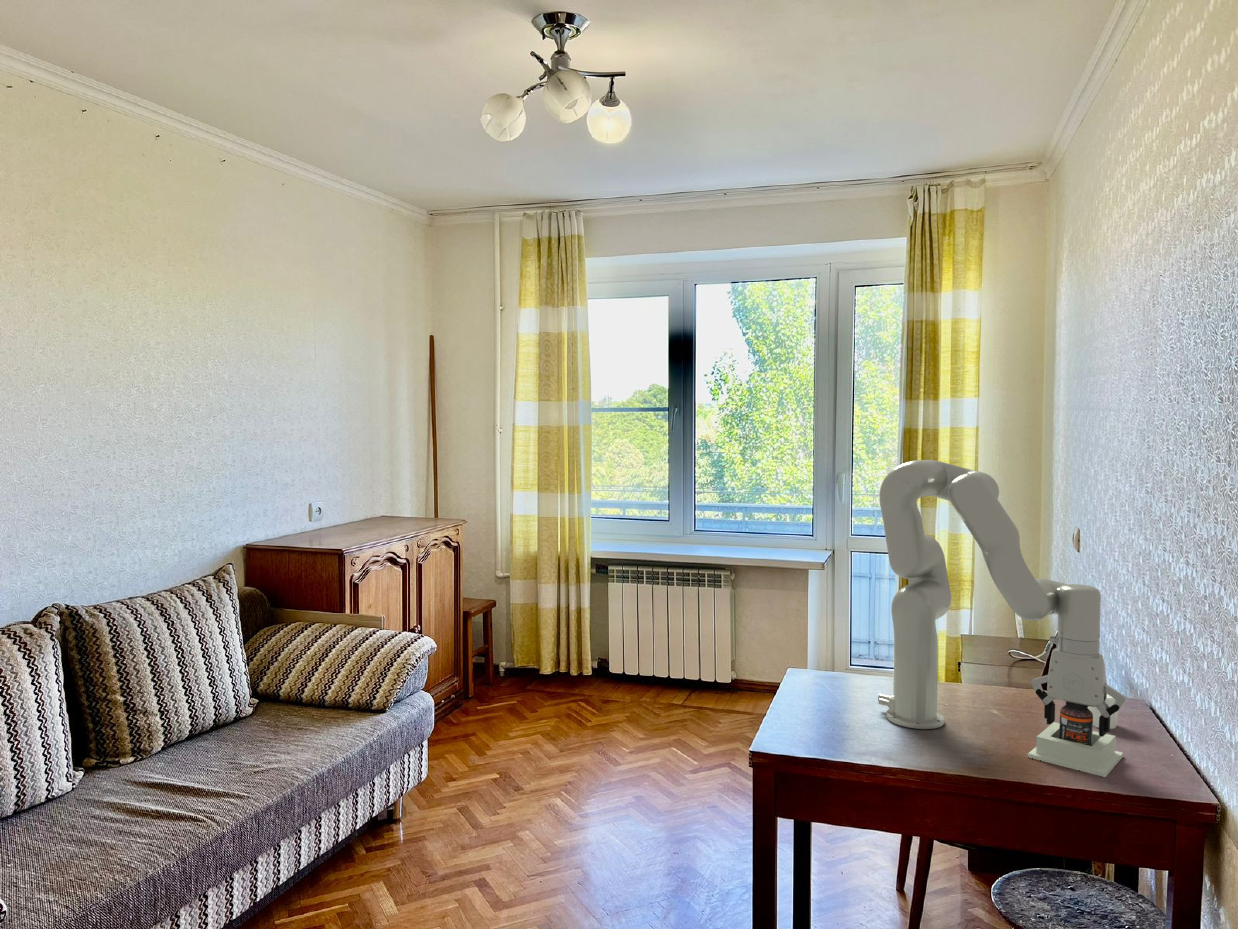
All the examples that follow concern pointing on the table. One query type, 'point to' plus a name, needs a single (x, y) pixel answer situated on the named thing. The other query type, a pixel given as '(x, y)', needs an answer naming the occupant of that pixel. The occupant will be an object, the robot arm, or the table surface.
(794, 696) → the table surface
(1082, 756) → the socket block
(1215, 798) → the table surface
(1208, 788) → the table surface
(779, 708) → the table surface
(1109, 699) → the white cylinder
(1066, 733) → the supplement bottle
